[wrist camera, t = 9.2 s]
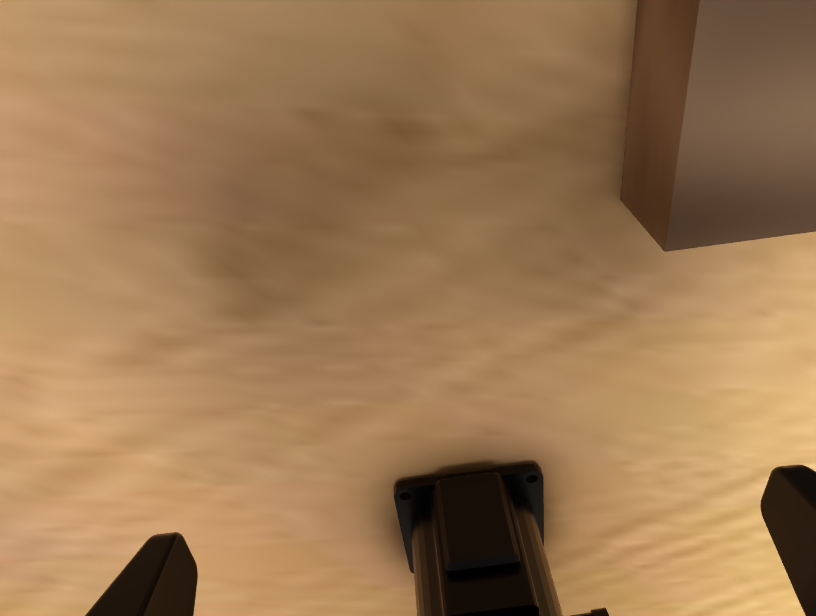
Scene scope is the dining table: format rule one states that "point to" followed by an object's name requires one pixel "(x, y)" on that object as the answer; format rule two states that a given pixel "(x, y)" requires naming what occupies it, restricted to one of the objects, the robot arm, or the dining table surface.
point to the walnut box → (722, 121)
